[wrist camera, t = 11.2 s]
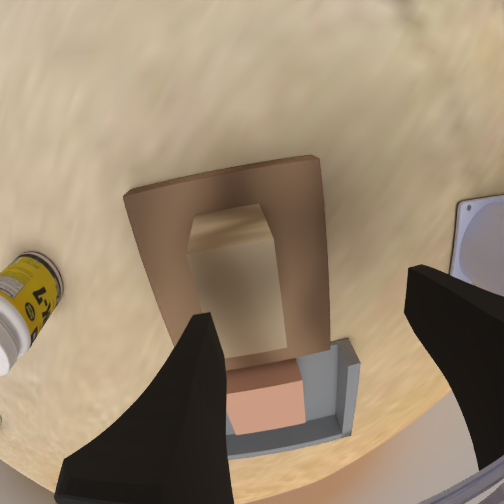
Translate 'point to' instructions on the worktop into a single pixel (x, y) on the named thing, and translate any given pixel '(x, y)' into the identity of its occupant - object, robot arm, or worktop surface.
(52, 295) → the supplement bottle
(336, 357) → the tray
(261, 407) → the pink square block
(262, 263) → the tall beige block
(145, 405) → the robot arm
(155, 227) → the board
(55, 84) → the worktop surface
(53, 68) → the worktop surface
